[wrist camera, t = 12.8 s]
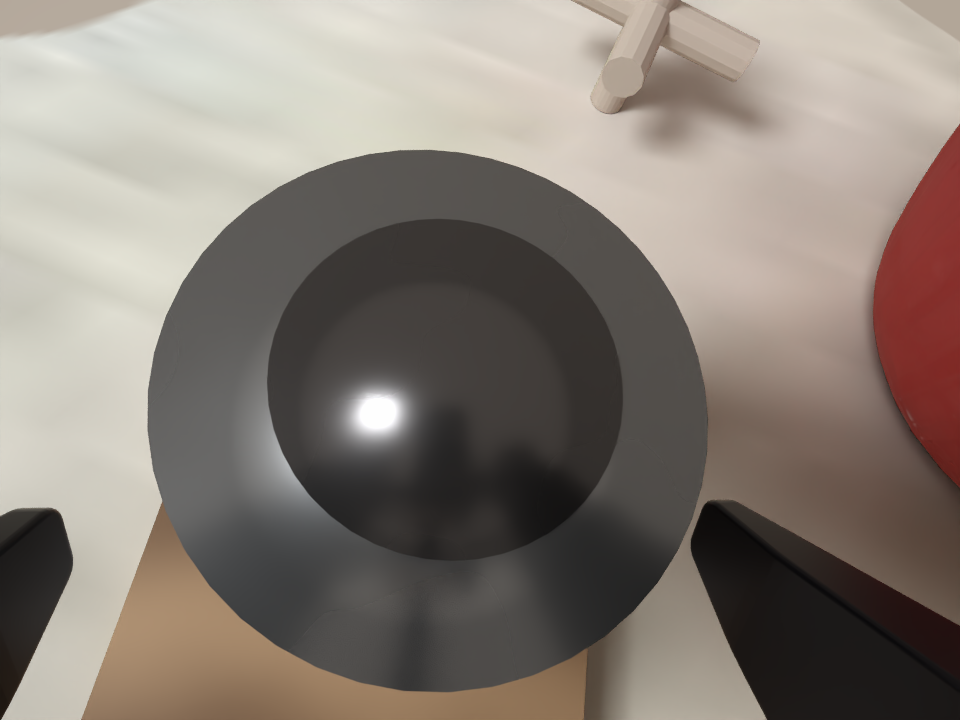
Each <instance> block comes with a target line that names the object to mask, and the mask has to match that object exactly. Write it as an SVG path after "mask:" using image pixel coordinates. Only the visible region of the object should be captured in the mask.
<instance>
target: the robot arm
mask: <svg viewBox="0 0 960 720" xmlns="http://www.w3.org/2000/svg"><path fill="white" fill-rule="evenodd" d="M691 552H692V556H693V559H694V561H695V564H696V566H697V568H698V571H699V573H700V576H701V578H702V581H703V583H704V585H705V588H706V590H707V593H708V595H709V598H710V600H711V602H712V605H713V607H714V610H715V612H716V615H717V617H718V620H719V622H720V624H721V627H722V629H723V632H724V634H725V636H726V639H727V641H728V643H729V645H730V648H731V650H732V652H733V654H734V656H735V658H736V660H737V662H738V664H739V666H740V668H741V670H742V672H743V674H744V676H745V678H746V680H747V682H748V684H749V686H750V688H751V690H752V692H753V694H754V695H755V697H756V699H757V701H758V703H759V705H760V707H761V709H762V711H763V713H764V715H765V717H766V719H767V720H960V626H959V625H957V624H955V623H954V622H952V621H950V620H948V619H946V618H945V617H943V616H941V615H939V614H938V613H936V612H934V611H932V610H930V609H929V608H927V607H925V606H923V605H921V604H920V603H918V602H916V601H914V600H912V599H911V598H909V597H907V596H905V595H903V594H902V593H900V592H898V591H896V590H894V589H893V588H891V587H889V586H887V585H885V584H884V583H882V582H880V581H878V580H876V579H875V578H873V577H871V576H869V575H867V574H866V573H864V572H862V571H860V570H858V569H857V568H855V567H853V566H851V565H849V564H848V563H846V562H844V561H842V560H841V559H839V558H837V557H835V556H833V555H832V554H830V553H828V552H826V551H824V550H823V549H821V548H819V547H817V546H815V545H814V544H812V543H810V542H808V541H806V540H805V539H803V538H801V537H799V536H797V535H796V534H794V533H792V532H790V531H788V530H787V529H785V528H783V527H781V526H779V525H778V524H776V523H774V522H772V521H770V520H769V519H767V518H765V517H763V516H761V515H760V514H758V513H756V512H754V511H753V510H751V509H749V508H747V507H745V506H744V505H742V504H740V503H738V502H736V501H733V500H710V501H708V502H707V503H706V504H705V505H704V506H703V508H702V511H701V513H700V516H699V519H698V521H697V524H696V527H695V529H694V532H693V535H692V538H691ZM72 567H73V555H72V551H71V547H70V544H69V540H68V537H67V533H66V529H65V526H64V522H63V519H62V516H61V514H60V513H59V512H58V511H57V510H56V509H53V508H20V509H15V510H12V511H10V512H8V513H6V514H4V515H2V516H0V720H1V719H2V717H3V715H4V713H5V712H6V710H7V708H8V706H9V704H10V702H11V700H12V698H13V696H14V694H15V692H16V691H17V689H18V687H19V685H20V683H21V680H22V678H23V676H24V674H25V672H26V670H27V668H28V665H29V663H30V661H31V659H32V657H33V655H34V653H35V650H36V648H37V646H38V644H39V642H40V640H41V638H42V635H43V633H44V631H45V629H46V627H47V625H48V623H49V620H50V618H51V616H52V614H53V612H54V610H55V608H56V605H57V603H58V601H59V599H60V597H61V595H62V593H63V590H64V588H65V586H66V584H67V582H68V580H69V577H70V575H71V572H72Z"/></svg>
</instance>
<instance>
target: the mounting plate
mask: <svg viewBox="0 0 960 720" xmlns="http://www.w3.org/2000/svg"><path fill="white" fill-rule="evenodd" d="M587 653H588V648H586V649H585V650H583V651H581V652H580V653H578V654H577V655H575V656H574V657H572V658H571V659H568V660H566V661H564V662H562V663H560V664H557V665H555V666H553V667H551V668H549V669H546V670H544V671H542V672H540V673H538V674H535V675H533V676H530V677H526V678H522V679H519V680H515V681H512V682H508V683H505V684H501V685H498V686H494V687H488V688H480V689H472V690H464V691H456V692H420V691H402V690H396V689H391V688H385V687H380V686H375V685H369V684H364V683H359V682H356V681H354V680H351V679H348V678H345V677H342V676H339V675H337V674H334V673H331V672H328V671H325V670H322V669H320V668H317V667H315V666H313V665H311V664H309V663H308V662H306V661H304V660H302V659H300V658H298V657H296V656H295V655H293V654H291V653H289V652H287V651H285V650H283V649H282V648H280V647H278V646H276V645H275V644H274V643H272V642H271V641H270V640H268V639H267V638H266V637H264V636H263V635H262V634H260V633H259V632H258V631H256V630H255V629H254V628H253V627H251V626H250V625H249V624H247V623H246V622H245V621H243V620H242V619H241V618H240V617H239V616H238V615H237V614H236V613H235V612H234V611H233V610H232V609H231V608H230V607H229V606H228V605H227V604H226V603H225V602H224V601H223V600H222V598H221V597H220V596H219V595H218V594H217V593H216V592H215V591H214V590H213V589H212V588H211V587H210V586H209V584H208V583H207V582H206V580H205V579H204V577H203V576H202V574H201V573H200V572H199V570H198V569H197V567H196V566H195V564H194V563H193V561H192V560H191V559H190V557H189V556H188V554H187V553H186V551H185V550H184V548H183V546H182V544H181V542H180V540H179V538H178V536H177V534H176V531H175V529H174V527H173V525H172V523H171V521H170V519H169V517H168V515H167V513H166V511H165V507H164V504H163V501H162V504H161V507H160V509H159V512H158V515H157V517H156V520H155V523H154V525H153V528H152V531H151V534H150V536H149V539H148V542H147V544H146V547H145V550H144V552H143V555H142V558H141V560H140V563H139V566H138V569H137V571H136V574H135V577H134V579H133V582H132V585H131V587H130V590H129V593H128V595H127V598H126V601H125V604H124V606H123V609H122V612H121V614H120V617H119V620H118V622H117V625H116V628H115V630H114V633H113V636H112V639H111V641H110V644H109V647H108V649H107V652H106V655H105V657H104V660H103V663H102V665H101V668H100V671H99V674H98V676H97V679H96V682H95V684H94V687H93V690H92V692H91V695H90V698H89V700H88V703H87V706H86V709H85V711H84V714H83V717H82V719H81V720H584V703H585V687H586V670H587Z"/></svg>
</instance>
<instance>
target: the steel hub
mask: <svg viewBox="0 0 960 720" xmlns="http://www.w3.org/2000/svg"><path fill="white" fill-rule="evenodd" d="M707 428H708V417H707V407H706V396H705V387H704V382H703V378H702V373H701V369H700V364H699V360H698V356H697V353H696V350H695V347H694V344H693V341H692V338H691V335H690V332H689V330H688V327H687V325H686V323H685V321H684V318H683V316H682V314H681V312H680V310H679V308H678V306H677V304H676V302H675V300H674V298H673V296H672V295H671V293H670V292H669V290H668V288H667V287H666V285H665V283H664V282H663V280H662V279H661V277H660V275H659V274H658V272H657V271H656V270H655V269H654V267H653V266H652V265H651V263H650V262H649V261H648V260H647V258H646V257H645V256H644V255H643V253H642V252H641V251H640V250H639V248H638V247H637V246H636V245H635V244H634V243H633V242H632V241H631V240H630V239H629V238H628V237H627V236H626V235H625V234H624V233H623V232H622V231H621V230H620V229H619V228H618V227H617V226H616V225H614V224H613V223H612V222H611V221H610V220H609V219H607V218H606V217H605V216H604V215H603V214H601V213H600V212H599V211H598V210H597V209H595V208H594V207H592V206H591V205H589V204H588V203H586V202H585V201H583V200H582V199H581V198H579V197H578V196H576V195H575V194H573V193H572V192H570V191H568V190H566V189H564V188H562V187H561V186H559V185H557V184H555V183H553V182H551V181H550V180H548V179H546V178H543V177H541V176H539V175H536V174H534V173H531V172H529V171H527V170H524V169H522V168H519V167H517V166H513V165H510V164H507V163H503V162H500V161H497V160H493V159H490V158H485V157H480V156H475V155H470V154H465V153H458V152H447V151H436V150H400V151H392V152H384V153H375V154H368V155H364V156H360V157H355V158H351V159H347V160H343V161H339V162H336V163H333V164H330V165H327V166H325V167H322V168H319V169H316V170H314V171H311V172H308V173H306V174H304V175H302V176H300V177H298V178H296V179H294V180H292V181H290V182H288V183H286V184H284V185H282V186H280V187H278V188H277V189H275V190H274V191H272V192H271V193H269V194H268V195H266V196H265V197H263V198H262V199H260V200H259V201H257V202H256V203H254V204H253V205H251V206H250V207H249V208H248V209H246V210H245V211H244V212H243V213H242V214H241V215H240V216H238V217H237V218H236V219H235V220H234V221H233V222H231V223H230V224H229V225H228V226H227V227H226V228H225V229H224V230H223V231H222V232H221V233H220V234H219V235H218V236H217V238H216V239H215V240H214V241H213V242H212V243H211V244H210V245H209V247H208V248H207V249H206V250H205V251H204V252H203V253H202V255H201V256H200V258H199V259H198V261H197V262H196V263H195V265H194V266H193V268H192V269H191V271H190V272H189V274H188V275H187V277H186V278H185V280H184V281H183V283H182V285H181V287H180V289H179V291H178V293H177V295H176V297H175V299H174V301H173V303H172V305H171V307H170V309H169V311H168V313H167V315H166V318H165V321H164V324H163V327H162V330H161V333H160V336H159V339H158V343H157V346H156V349H155V352H154V358H153V364H152V370H151V376H150V382H149V388H148V436H149V443H150V451H151V458H152V465H153V471H154V474H155V478H156V481H157V484H158V488H159V491H160V494H161V498H162V501H163V504H164V507H165V511H166V513H167V515H168V517H169V519H170V521H171V523H172V525H173V527H174V529H175V531H176V534H177V536H178V538H179V540H180V542H181V544H182V546H183V548H184V550H185V551H186V553H187V554H188V556H189V557H190V559H191V560H192V561H193V563H194V564H195V566H196V567H197V569H198V570H199V572H200V573H201V574H202V576H203V577H204V579H205V580H206V582H207V583H208V584H209V586H210V587H211V588H212V589H213V590H214V591H215V592H216V593H217V594H218V595H219V596H220V597H221V598H222V600H223V601H224V602H225V603H226V604H227V605H228V606H229V607H230V608H231V609H232V610H233V611H234V612H235V613H236V614H237V615H238V616H239V617H240V618H241V619H242V620H243V621H245V622H246V623H247V624H249V625H250V626H251V627H253V628H254V629H255V630H256V631H258V632H259V633H260V634H262V635H263V636H264V637H266V638H267V639H268V640H270V641H271V642H272V643H274V644H275V645H276V646H278V647H280V648H282V649H283V650H285V651H287V652H289V653H291V654H293V655H295V656H296V657H298V658H300V659H302V660H304V661H306V662H308V663H309V664H311V665H313V666H315V667H317V668H320V669H322V670H325V671H328V672H331V673H334V674H337V675H339V676H342V677H345V678H348V679H351V680H354V681H356V682H359V683H364V684H369V685H375V686H380V687H385V688H391V689H396V690H402V691H420V692H456V691H464V690H472V689H480V688H488V687H494V686H498V685H501V684H505V683H508V682H512V681H515V680H519V679H522V678H526V677H530V676H533V675H535V674H538V673H540V672H542V671H544V670H546V669H549V668H551V667H553V666H555V665H557V664H560V663H562V662H564V661H566V660H568V659H571V658H572V657H574V656H575V655H577V654H578V653H580V652H581V651H583V650H585V649H586V648H588V647H589V646H591V645H592V644H594V643H595V642H597V641H598V640H600V639H601V638H603V637H605V636H606V635H607V634H608V633H609V632H610V631H611V630H612V629H614V628H615V627H616V626H617V625H618V624H619V623H620V622H622V621H623V620H624V619H625V618H626V617H627V616H628V615H629V614H631V613H632V612H633V611H634V610H635V609H636V607H637V606H638V605H639V604H640V603H641V602H642V600H643V599H644V598H645V597H646V596H647V594H648V593H649V592H650V591H651V590H652V589H653V587H654V586H655V585H656V584H657V583H658V581H659V580H660V578H661V577H662V575H663V573H664V572H665V570H666V569H667V567H668V565H669V564H670V562H671V561H672V559H673V557H674V556H675V554H676V553H677V551H678V549H679V547H680V544H681V542H682V540H683V538H684V535H685V533H686V531H687V529H688V526H689V524H690V522H691V520H692V517H693V513H694V510H695V507H696V503H697V500H698V496H699V493H700V490H701V486H702V480H703V474H704V467H705V461H706V455H707Z"/></svg>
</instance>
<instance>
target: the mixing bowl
mask: <svg viewBox="0 0 960 720" xmlns="http://www.w3.org/2000/svg"><path fill="white" fill-rule="evenodd" d="M873 320H874V331H875V337H876V343H877V348H878V353H879V357H880V361H881V364H882V366H883V369H884V372H885V376H886V380H887V382H888V384H889V387H890V389H891V392H892V395H893V398H894V400H895V402H896V404H897V406H898V408H899V410H900V412H901V413H902V415H903V417H904V419H905V420H906V422H907V423H908V425H909V426H910V429H911V432H912V433H913V434H914V435H915V437H916V438H917V439H918V440H919V441H920V442H921V444H922V445H923V446H924V447H925V449H926V450H927V451H928V453H929V454H930V455H931V457H932V458H933V459H934V461H935V462H936V463H937V464H938V466H939V467H940V468H941V469H942V470H943V471H944V472H945V473H946V474H947V475H948V476H949V477H950V478H951V479H952V480H953V481H954V482H955V483H956V484H957V486H958V487H959V488H960V124H959V126H958V127H957V128H956V130H955V131H954V133H953V134H952V135H951V137H950V138H949V140H948V141H947V142H946V144H945V145H944V147H943V148H942V149H941V151H940V153H939V154H938V156H937V157H936V159H935V160H934V162H933V163H932V165H931V166H930V168H929V169H928V171H927V172H926V174H925V175H924V177H923V179H922V180H921V182H920V183H919V185H918V187H917V188H916V190H915V192H914V193H913V195H912V197H911V198H910V200H909V202H908V203H907V205H906V207H905V209H904V211H903V213H902V214H901V216H900V218H899V220H898V222H897V223H896V225H895V227H894V229H893V231H892V233H891V235H890V238H889V240H888V242H887V245H886V247H885V250H884V253H883V256H882V260H881V263H880V266H879V269H878V272H877V276H876V282H875V290H874V305H873Z"/></svg>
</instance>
